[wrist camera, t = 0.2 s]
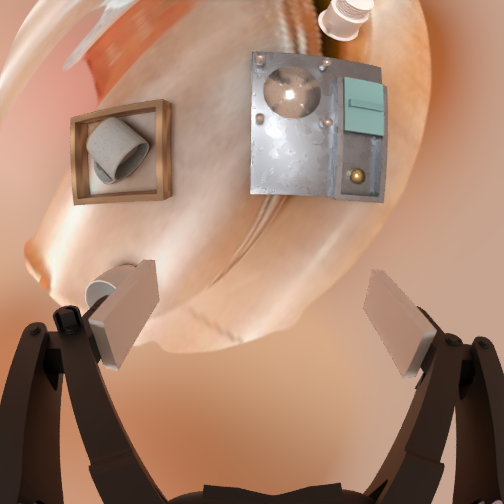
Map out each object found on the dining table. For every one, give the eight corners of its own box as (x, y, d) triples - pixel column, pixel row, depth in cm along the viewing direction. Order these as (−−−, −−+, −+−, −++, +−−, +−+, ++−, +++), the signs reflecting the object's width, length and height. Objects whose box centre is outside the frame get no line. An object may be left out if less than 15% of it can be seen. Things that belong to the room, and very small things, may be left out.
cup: (142, 303, 49) (121, 333, 39) (107, 283, 47) (81, 309, 38) (155, 269, 46) (133, 297, 37) (118, 248, 45) (89, 271, 36)
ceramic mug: (123, 115, 37) (98, 111, 30) (156, 142, 39) (135, 141, 32) (90, 166, 40) (64, 170, 33) (121, 193, 42) (97, 202, 35)
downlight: (339, 50, 33) (361, 25, 23) (307, 22, 31) (320, -8, 22) (366, 29, 31) (391, 5, 21) (336, 3, 29) (354, -25, 20)
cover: (341, 79, 32) (346, 75, 29) (378, 86, 32) (385, 83, 29) (341, 130, 34) (347, 129, 32) (379, 136, 34) (386, 135, 32)
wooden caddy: (83, 119, 37) (70, 118, 33) (171, 103, 37) (162, 99, 33) (86, 200, 42) (73, 205, 38) (171, 196, 42) (163, 200, 38)
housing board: (252, 56, 34) (251, 44, 29) (375, 70, 33) (388, 62, 29) (250, 192, 41) (249, 197, 37) (373, 198, 41) (386, 204, 36)
